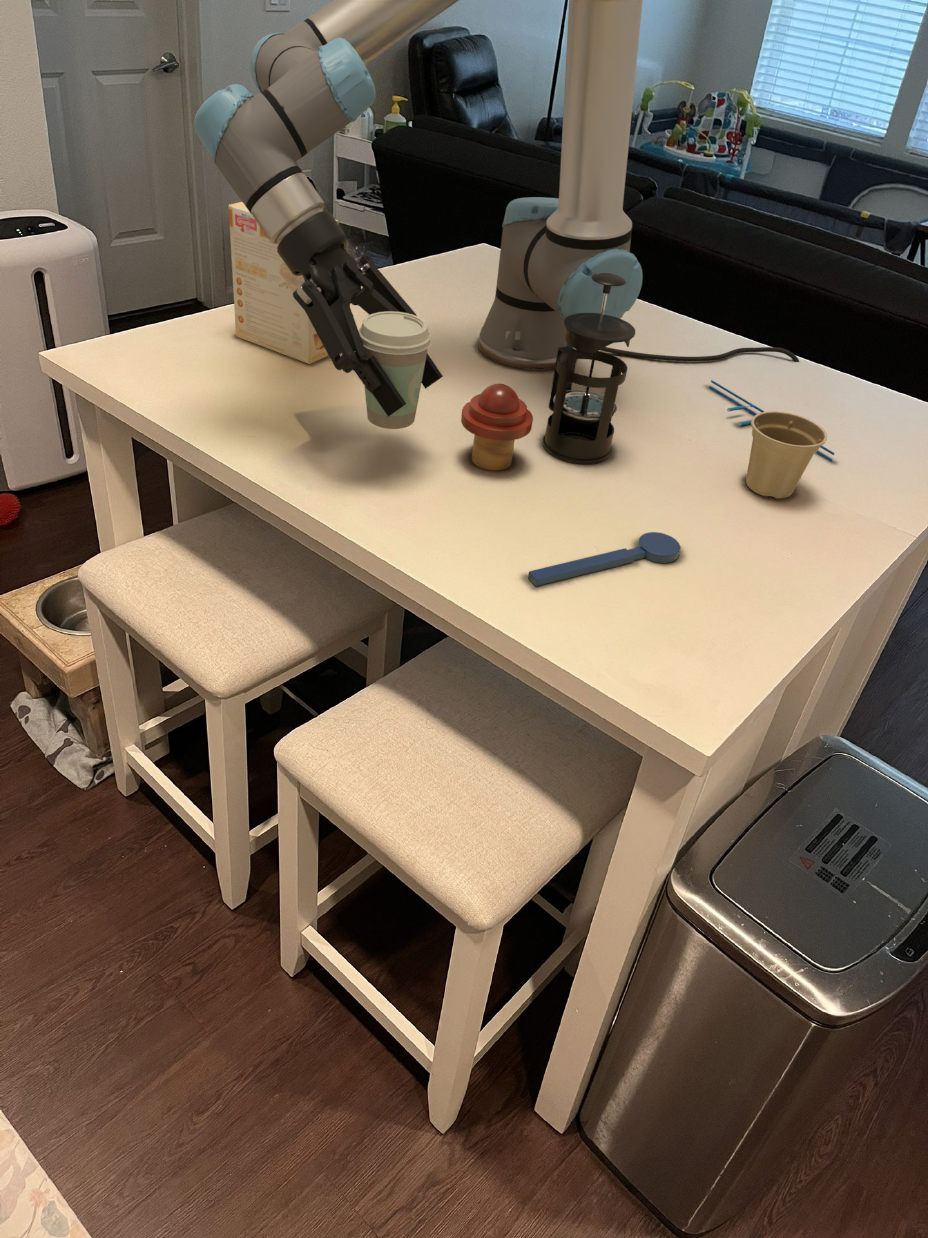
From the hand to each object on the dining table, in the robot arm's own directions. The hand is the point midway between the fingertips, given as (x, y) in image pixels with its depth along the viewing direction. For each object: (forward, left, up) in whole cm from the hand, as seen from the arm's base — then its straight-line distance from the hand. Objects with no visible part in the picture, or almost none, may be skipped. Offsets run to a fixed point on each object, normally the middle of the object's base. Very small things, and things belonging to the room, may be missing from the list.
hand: (416, 395), depth 110 cm
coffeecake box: (+2, -41, -10) cm, 42 cm away
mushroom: (-11, +1, -10) cm, 15 cm away
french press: (-24, +1, -10) cm, 26 cm away
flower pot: (-43, +19, -10) cm, 48 cm away
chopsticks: (-54, +4, -10) cm, 55 cm away
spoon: (-12, +26, -10) cm, 31 cm away
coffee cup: (+2, -3, -4) cm, 5 cm away
